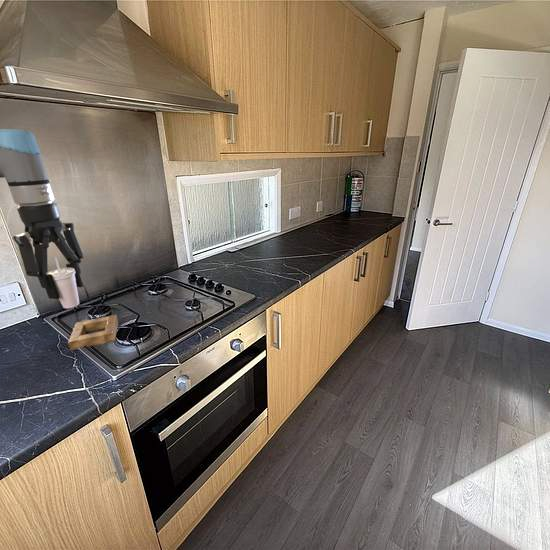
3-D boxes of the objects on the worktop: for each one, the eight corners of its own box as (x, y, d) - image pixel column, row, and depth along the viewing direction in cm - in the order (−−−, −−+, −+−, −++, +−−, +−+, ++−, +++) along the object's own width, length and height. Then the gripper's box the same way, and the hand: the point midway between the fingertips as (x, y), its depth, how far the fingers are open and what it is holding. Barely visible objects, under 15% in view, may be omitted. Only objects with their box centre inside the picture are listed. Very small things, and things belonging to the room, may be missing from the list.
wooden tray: (70, 350, 88) (67, 342, 87) (79, 330, 98) (76, 322, 97) (114, 340, 92) (112, 332, 91) (118, 322, 102) (116, 314, 101)
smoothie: (57, 313, 75) (38, 262, 69) (56, 304, 79) (38, 255, 74) (86, 305, 78) (70, 256, 73) (83, 297, 83) (68, 250, 77)
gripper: (3, 212, 59) (42, 311, 68) (83, 197, 76) (106, 278, 85) (-24, 211, 61) (18, 308, 70) (61, 197, 78) (85, 276, 87)
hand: (66, 291), depth 77 cm, fingers closed on smoothie, 6 cm apart
